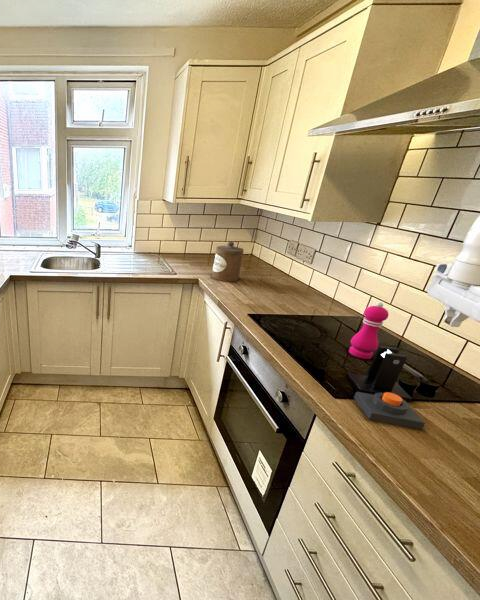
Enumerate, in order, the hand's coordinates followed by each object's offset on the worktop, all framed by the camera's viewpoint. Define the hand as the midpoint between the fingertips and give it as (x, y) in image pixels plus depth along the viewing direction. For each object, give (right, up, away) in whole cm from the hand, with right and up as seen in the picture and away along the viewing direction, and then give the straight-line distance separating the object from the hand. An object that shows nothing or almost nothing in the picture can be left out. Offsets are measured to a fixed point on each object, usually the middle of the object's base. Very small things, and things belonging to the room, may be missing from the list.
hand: (450, 324), depth 83 cm
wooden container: (-9, +20, +109) cm, 111 cm away
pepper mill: (+2, -13, +29) cm, 32 cm away
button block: (-15, -24, +2) cm, 28 cm away
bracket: (-8, -20, +12) cm, 25 cm away
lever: (-5, -13, +8) cm, 16 cm away
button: (-15, -21, +1) cm, 26 cm away
